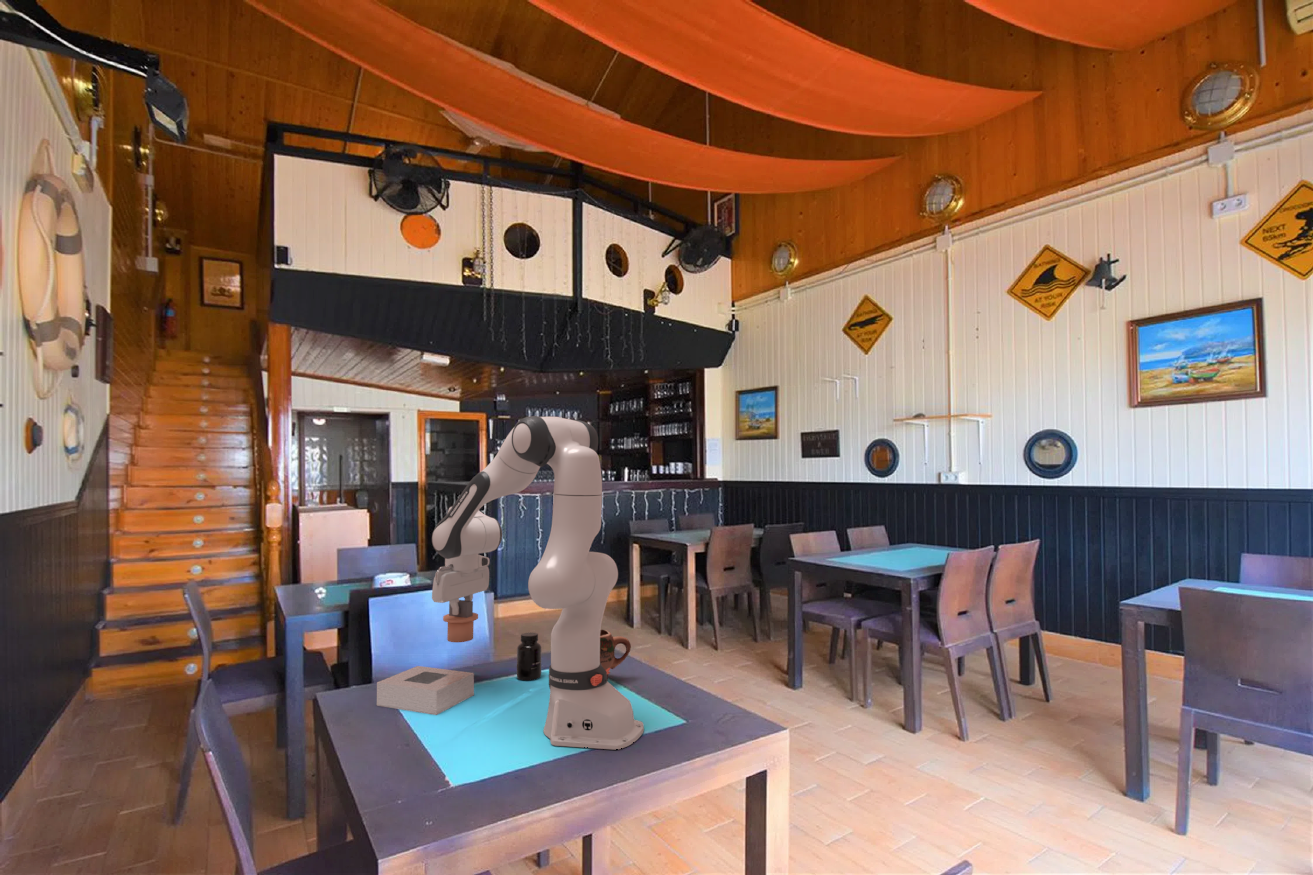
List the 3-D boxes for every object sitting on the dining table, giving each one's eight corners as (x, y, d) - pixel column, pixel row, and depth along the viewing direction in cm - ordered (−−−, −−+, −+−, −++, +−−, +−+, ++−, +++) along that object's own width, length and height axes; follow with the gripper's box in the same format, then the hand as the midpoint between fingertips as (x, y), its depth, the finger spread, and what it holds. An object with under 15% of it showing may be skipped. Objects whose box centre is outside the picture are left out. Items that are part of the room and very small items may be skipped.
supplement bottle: (538, 681, 177) (538, 637, 178) (514, 681, 178) (514, 637, 178) (543, 673, 184) (543, 631, 185) (519, 673, 184) (520, 631, 185)
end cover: (484, 636, 178) (485, 599, 179) (463, 645, 170) (464, 605, 170) (457, 633, 182) (458, 596, 182) (435, 641, 173) (436, 602, 173)
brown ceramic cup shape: (622, 671, 185) (622, 622, 186) (637, 684, 174) (637, 632, 175) (554, 681, 177) (554, 630, 178) (565, 695, 166) (565, 640, 167)
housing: (473, 700, 163) (473, 672, 163) (436, 721, 149) (436, 690, 150) (417, 692, 169) (417, 665, 169) (376, 711, 156) (376, 682, 156)
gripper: (446, 568, 166) (445, 622, 165) (493, 558, 185) (492, 606, 184) (426, 567, 168) (425, 620, 167) (475, 556, 187) (474, 604, 186)
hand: (461, 612), depth 176 cm, fingers closed on end cover, 2 cm apart
